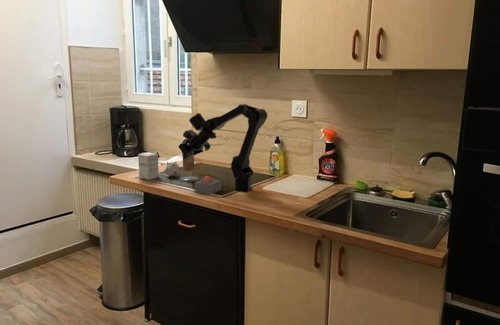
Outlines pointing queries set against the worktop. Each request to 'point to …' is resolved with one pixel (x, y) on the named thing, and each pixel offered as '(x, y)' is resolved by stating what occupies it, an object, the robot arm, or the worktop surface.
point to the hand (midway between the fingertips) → (186, 157)
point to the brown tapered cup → (188, 163)
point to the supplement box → (148, 165)
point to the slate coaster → (188, 179)
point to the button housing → (207, 186)
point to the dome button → (207, 180)
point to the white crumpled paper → (172, 169)
